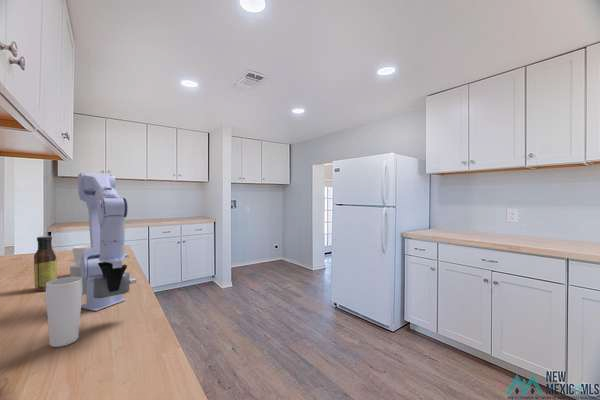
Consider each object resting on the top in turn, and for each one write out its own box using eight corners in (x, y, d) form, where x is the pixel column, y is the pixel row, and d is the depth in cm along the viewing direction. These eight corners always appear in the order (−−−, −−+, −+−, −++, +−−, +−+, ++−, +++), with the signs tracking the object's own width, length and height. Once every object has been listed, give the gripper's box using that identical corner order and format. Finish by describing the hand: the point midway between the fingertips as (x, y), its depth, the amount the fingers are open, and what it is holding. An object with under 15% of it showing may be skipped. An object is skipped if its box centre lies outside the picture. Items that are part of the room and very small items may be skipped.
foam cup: (81, 272, 124) (81, 244, 123) (103, 272, 125) (104, 244, 125) (67, 279, 114) (67, 248, 114) (92, 278, 116) (92, 247, 116)
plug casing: (133, 287, 82) (133, 270, 82) (137, 290, 79) (137, 273, 79) (92, 295, 75) (92, 277, 75) (94, 299, 72) (94, 280, 72)
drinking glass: (44, 341, 66) (45, 280, 66) (80, 332, 70) (80, 274, 70) (45, 353, 61) (46, 287, 61) (84, 342, 66) (84, 280, 66)
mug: (65, 292, 99) (65, 264, 99) (94, 284, 108) (94, 259, 108) (80, 297, 94) (80, 268, 94) (109, 289, 103) (110, 263, 103)
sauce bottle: (61, 286, 105) (61, 235, 105) (47, 291, 99) (47, 237, 99) (44, 286, 105) (44, 235, 105) (28, 291, 99) (28, 237, 99)
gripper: (135, 242, 74) (134, 292, 74) (123, 236, 84) (123, 279, 84) (103, 245, 69) (103, 298, 69) (95, 238, 79) (94, 284, 80)
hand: (112, 288), depth 76 cm, fingers closed on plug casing, 4 cm apart
